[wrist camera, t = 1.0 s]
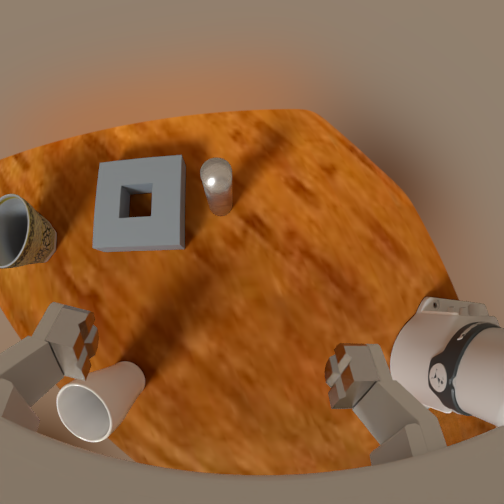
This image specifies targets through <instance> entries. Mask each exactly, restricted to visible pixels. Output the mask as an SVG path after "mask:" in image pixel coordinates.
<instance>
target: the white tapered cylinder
mask: <svg viewBox="0 0 504 504" xmlns="http://www.w3.org/2000/svg"><path fill="white" fill-rule="evenodd" d="M144 387H145V377H144V374H143V372H142V370H141V369H140V368H139V367H138V366H137V365H135V364H134V363H132V362H128V361H121V362H118V363H116V364H115V365H112V366H109V367H106V368H103V369H100V370H97V371H94V372H91V373H88V376H87V379H86V381H83V380H79V379H75V380H73V381H71V382H70V383H68V384H67V385H65V386H64V387H62V388H61V390H60V391H59V393H58V396H57V410H58V413H59V416H60V418H61V420H62V422H63V423H64V425H65V426H66V427H67V429H68V430H69V431H70V432H71V433H73V434H74V435H75V436H77V437H79V438H80V439H83V440H85V441H89V442H99V441H102V440H104V439H106V438H107V437H108V436H109V435H110V434H111V433H112V432H113V431H114V430H115V429H116V428H117V427H118V426H119V425H120V424H121V422H122V421H123V420H124V418H125V417H126V415H127V413H128V412H129V410H130V409H131V407H132V405H133V404H134V402H135V400H136V399H137V397H138V396H139V395H140V393H141V392H142V391H143V389H144Z"/></svg>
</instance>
